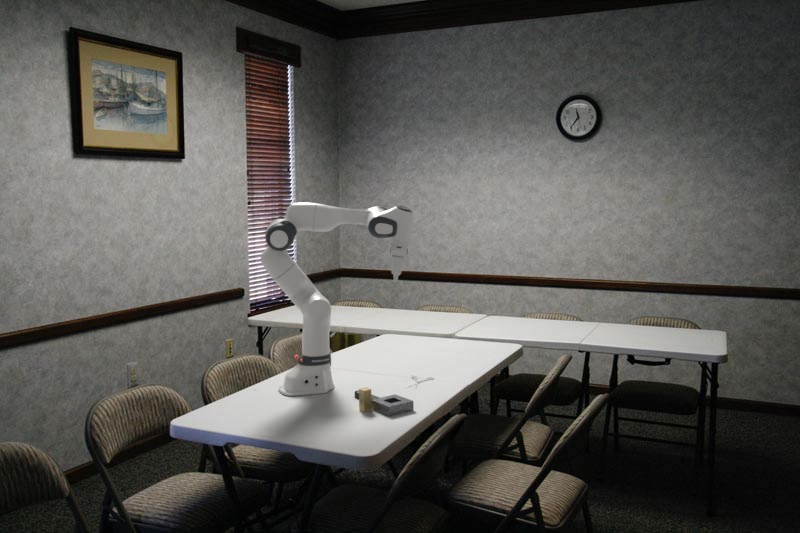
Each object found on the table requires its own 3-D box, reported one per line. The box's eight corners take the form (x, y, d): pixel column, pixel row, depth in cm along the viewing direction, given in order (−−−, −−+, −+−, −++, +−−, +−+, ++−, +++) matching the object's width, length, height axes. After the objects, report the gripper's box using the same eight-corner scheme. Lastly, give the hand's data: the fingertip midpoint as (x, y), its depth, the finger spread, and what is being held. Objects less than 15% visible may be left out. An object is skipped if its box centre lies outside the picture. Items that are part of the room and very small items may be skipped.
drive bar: (364, 412, 251) (363, 390, 251) (359, 410, 254) (358, 388, 253) (371, 410, 253) (371, 389, 252) (366, 408, 256) (366, 387, 255)
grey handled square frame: (389, 416, 246) (389, 406, 246) (344, 398, 269) (344, 389, 269) (413, 410, 253) (413, 400, 252) (368, 393, 276) (368, 384, 275)
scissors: (435, 376, 298) (423, 388, 279) (435, 378, 299) (423, 390, 280) (411, 375, 302) (397, 386, 283) (411, 376, 302) (397, 388, 283)
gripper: (393, 237, 290) (389, 269, 294) (390, 252, 270) (386, 285, 275) (408, 239, 290) (404, 270, 294) (406, 254, 270) (402, 287, 275)
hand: (395, 278), depth 284 cm, fingers open, 8 cm apart
